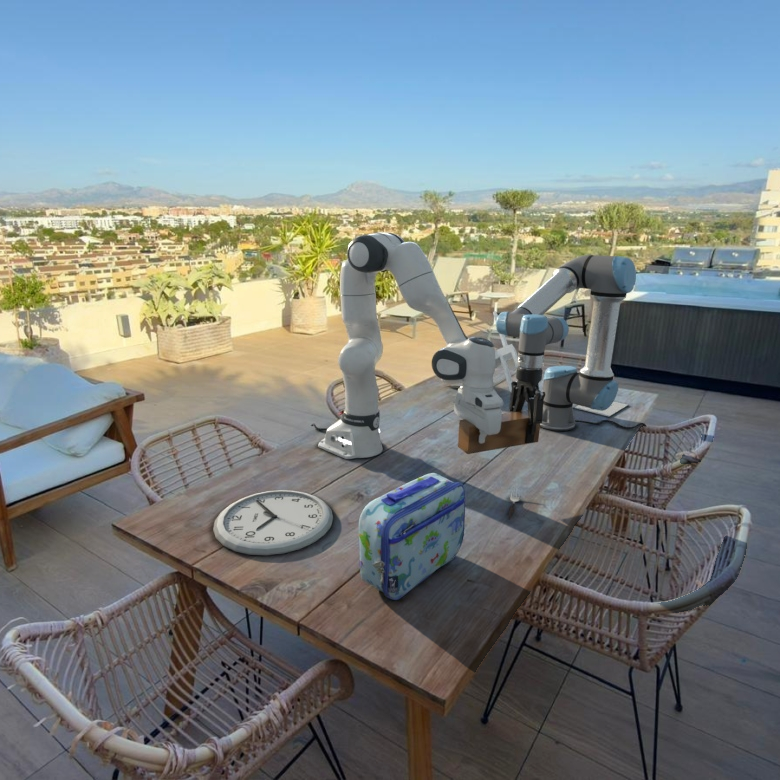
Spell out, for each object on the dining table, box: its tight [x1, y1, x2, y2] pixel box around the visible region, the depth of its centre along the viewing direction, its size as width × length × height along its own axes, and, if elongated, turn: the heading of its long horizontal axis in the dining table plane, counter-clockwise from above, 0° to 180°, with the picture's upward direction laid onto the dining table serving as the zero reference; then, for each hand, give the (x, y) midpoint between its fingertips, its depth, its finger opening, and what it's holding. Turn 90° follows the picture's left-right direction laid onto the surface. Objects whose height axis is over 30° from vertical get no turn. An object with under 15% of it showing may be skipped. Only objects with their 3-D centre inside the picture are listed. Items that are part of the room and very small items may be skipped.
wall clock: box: [212, 489, 334, 556], centre depth 134 cm, size 30×2×30 cm
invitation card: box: [573, 400, 629, 418], centre depth 226 cm, size 21×1×15 cm
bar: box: [457, 409, 541, 455], centre depth 158 cm, size 25×6×9 cm, turn 113°
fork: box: [508, 487, 522, 521], centre depth 143 cm, size 3×16×2 cm, turn 160°
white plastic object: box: [440, 310, 518, 393], centre depth 245 cm, size 37×45×31 cm
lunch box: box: [358, 472, 466, 601], centre depth 112 cm, size 26×11×21 cm, turn 134°
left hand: (474, 438), depth 155 cm, fingers closed on bar, 6 cm apart
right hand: (522, 438), depth 163 cm, fingers closed on bar, 6 cm apart
